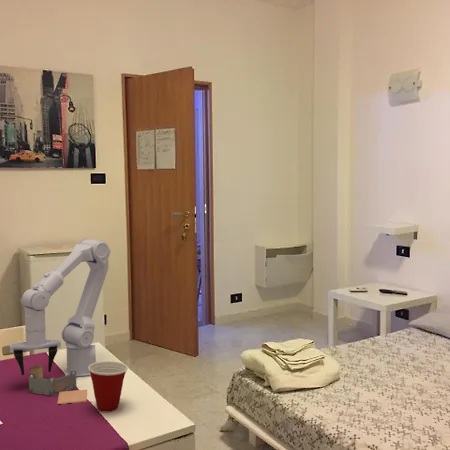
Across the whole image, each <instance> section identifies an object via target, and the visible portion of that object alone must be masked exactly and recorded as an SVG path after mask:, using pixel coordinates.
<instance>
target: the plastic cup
mask: <svg viewBox="0 0 450 450" xmlns="http://www.w3.org/2000/svg"><path fill="white" fill-rule="evenodd" d="M88 368H89V371H90V374H91V375H90V376H91V377H90V378H91V382H92V383H91V384H92V388H93V394H94V399H95V404H96V408H97V411H99V412H103V413H111V412H114V411H116V410H118V408H119V407H120V406H119V405H120V403H121V401H120V400H121V396H122V391H123V386H124V385H123V384H124V378H125V376H126V373H127V371H128V370H129V367H128V365H127V364H125V363H122V362H119V361H111V360H110V361H109V360H108V361H106V360H105V361H103V360H102V361H96V363H93V364H91V365H90V366H89V367H88Z"/></svg>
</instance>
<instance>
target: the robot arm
mask: <svg viewBox="0 0 450 450" xmlns="http://www.w3.org/2000/svg"><path fill="white" fill-rule="evenodd" d="M73 247H74V248H73V250H72V251H71V253H70V254H69V255H68V256H66V258H65V259H64V260H63V262H62V263H61V264H60V265H59V266H58V267H57V268H56V269H55V270H51V271H48V272H45V273H44V274H43V277H42V278H41V279H40V280H39V281H38V282H37V283H36V284H34V285H33V286H32V288H29V289H27V290H26V291H25V292H24V293H23V295H22V298H20V304H21V305H22V307H23V308H24V324H25V325H24V330H25V341H23V342H19V343H14V344H12V343H11V344H10V345H9V353H13V356H14V358H15V360H16V362H17V364H18V365H19V369H20V373H21V376H25V367H24V365H25V364H24V351H33V350H34V351H35V350H44V349H48V365H47V370H48V373H51V372H52V367H53V362H54V360H55V359H56V358H55V357H56V355H57V353H58V349H60V348H61V349H62V340H63V341H64V343H65V346H66V367H65V368H66V369H65V374H64V376H66V375H70V374H71V371H76V378H77V377H87V376H88V377H89V376H91V374H90V371H89V368H88V367H89V366H90V365H91V364H93V363H96V362H97V361H96V360H97V359H96V344H92V343H93V342H94V338H95V333H94V332H95V329H96V326H95V324H94V321H93V317H94V313H95V310H96V307H97V304H98V301H99V298H100V294H101V291H102V289H103V286H104V283H105V280H106V276H107V273H108V270H109V258H110V254H111V252H112V251H111V249H110V246H109V245H108V243H107V242H106V241H104V240H97V239H89V238H82V239H81V240H79V242H78V243H77V244H76V245H74V246H73ZM84 262H85V263H87V266H88V267H89V272H88V275H87V278H86V281H85V283H84V284H85V285H84V287H83V290H82V293H81V296H80V300H79V301H78V306H77V309H76V311H75V314H74V315H72V316H71V317H69V319H68V321H67V324H65V326H64V327H63V329H62V331H61V339H62V340H61V339H46V308H47V307H48V305H49V304H50V299H51V298H52V296H53V295H54V294H55V293H56V292H57V291H58V290H59V289H60V288H61V287H62V286H63V285H64V278H65V277H67V276H68V275H69V274H70V273H71V272H72V271H73V270H74V269H76V268H77V267H78V266H79V265H80V264H81V263H84Z"/></svg>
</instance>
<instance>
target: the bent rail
mask: <svg viewBox="0 0 450 450" xmlns="http://www.w3.org/2000/svg"><path fill="white" fill-rule="evenodd" d="M71 389H73V390H77V377H76V371H71V374H70V375H66V376H65V375H64V376H61V377H57V378H55V377H53V376H52V377H51V376H50V377H49V378H44V377H43V378H37V377H34V374H28V393H29V394H37V395H42V394H44V395H43V396H47V395H49V396H48V397H50V396H53V397H55V396H57V395H59V392H64V391H68V390H69V391H72V390H71ZM56 394H57V395H56ZM54 395H55V396H54Z"/></svg>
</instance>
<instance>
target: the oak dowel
mask: <svg viewBox="0 0 450 450" xmlns="http://www.w3.org/2000/svg"><path fill="white" fill-rule="evenodd" d="M43 368H44V367H43V365H38V364H37V365H32V366H31V367H30V368H29V369H30V372H29V373H30V374H34V377H37V378H43V379H44V369H43ZM30 374H29V375H30Z"/></svg>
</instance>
